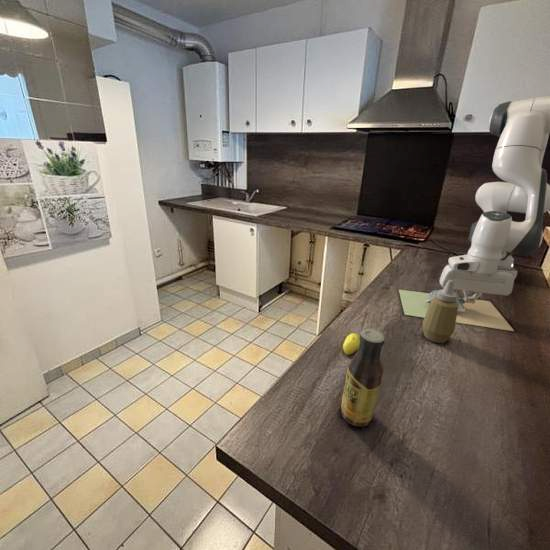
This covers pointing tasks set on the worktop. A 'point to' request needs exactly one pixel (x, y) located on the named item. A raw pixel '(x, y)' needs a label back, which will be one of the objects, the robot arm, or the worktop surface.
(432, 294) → the packaged food
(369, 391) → the sauce bottle
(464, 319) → the mat
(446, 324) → the squeeze bottle
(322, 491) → the worktop surface
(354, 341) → the lemon
